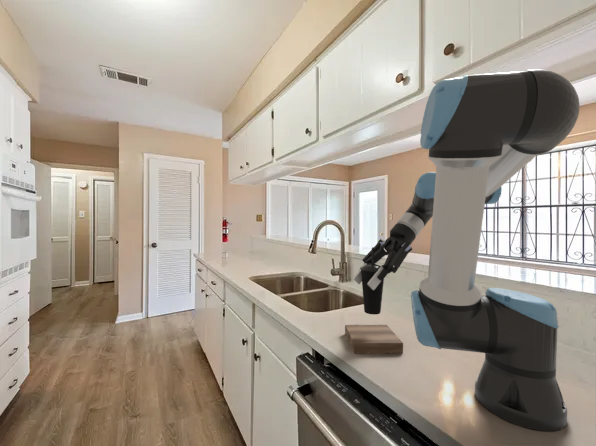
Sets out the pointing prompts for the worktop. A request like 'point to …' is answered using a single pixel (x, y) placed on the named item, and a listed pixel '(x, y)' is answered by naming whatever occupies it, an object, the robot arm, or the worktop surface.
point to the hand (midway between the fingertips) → (363, 284)
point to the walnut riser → (373, 339)
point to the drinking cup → (371, 296)
